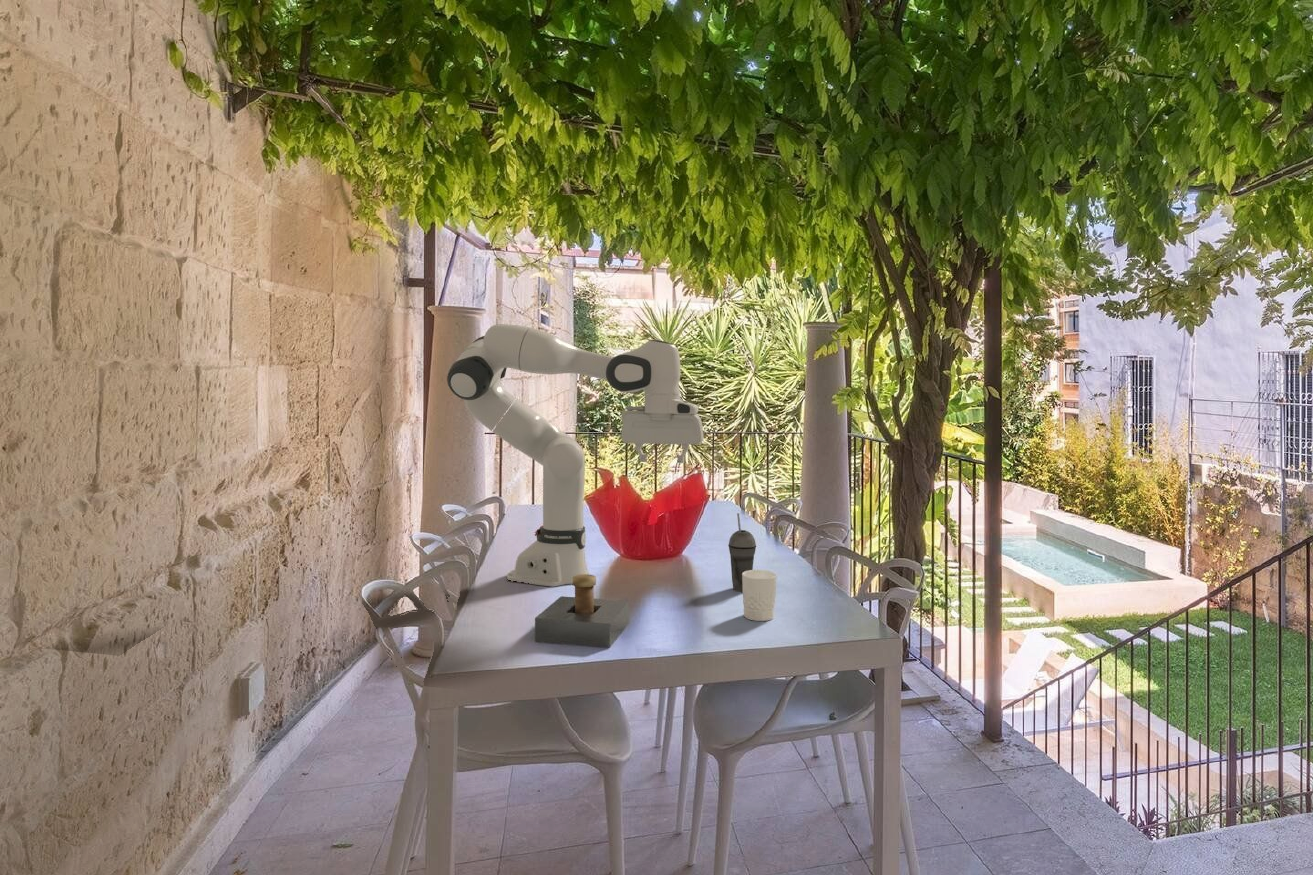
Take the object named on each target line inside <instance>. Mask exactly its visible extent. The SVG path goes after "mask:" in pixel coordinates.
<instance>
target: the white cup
mask: <svg viewBox="0 0 1313 875" xmlns="http://www.w3.org/2000/svg"><path fill="white" fill-rule="evenodd" d="M777 578H778V577H777V573H776V572H774V571H771V570H770V571H769V570H767V569H766V570H764V569H753V570H749V571H745V572H743V573H742V586H743V592H742V604H743V616H744V617H745V619H747V620H749V621H750V620H751V621H755V622H767V621H771V620H773V619H774V616H775V605H776V596H777V580H778V579H777Z"/></svg>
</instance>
